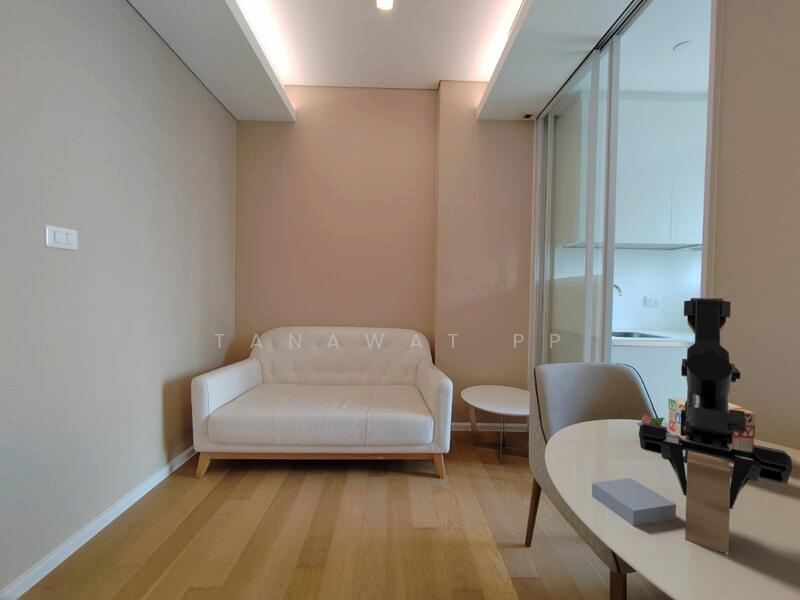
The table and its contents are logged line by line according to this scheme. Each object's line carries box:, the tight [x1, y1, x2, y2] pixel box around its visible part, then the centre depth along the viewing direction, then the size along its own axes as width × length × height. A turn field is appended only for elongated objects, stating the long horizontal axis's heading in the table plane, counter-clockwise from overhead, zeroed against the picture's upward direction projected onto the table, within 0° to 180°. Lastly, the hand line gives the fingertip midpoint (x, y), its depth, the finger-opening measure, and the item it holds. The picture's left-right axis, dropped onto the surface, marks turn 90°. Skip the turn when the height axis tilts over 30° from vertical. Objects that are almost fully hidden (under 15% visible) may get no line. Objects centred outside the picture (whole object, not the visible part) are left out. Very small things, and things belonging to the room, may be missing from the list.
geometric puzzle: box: [636, 413, 671, 434], centre depth 95 cm, size 7×7×8 cm
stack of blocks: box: [668, 397, 757, 463], centre depth 93 cm, size 21×6×12 cm, turn 173°
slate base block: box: [591, 477, 677, 527], centre depth 64 cm, size 9×9×3 cm
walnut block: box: [684, 451, 731, 555], centre depth 56 cm, size 5×5×12 cm
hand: (707, 500), depth 55 cm, fingers closed on walnut block, 5 cm apart
